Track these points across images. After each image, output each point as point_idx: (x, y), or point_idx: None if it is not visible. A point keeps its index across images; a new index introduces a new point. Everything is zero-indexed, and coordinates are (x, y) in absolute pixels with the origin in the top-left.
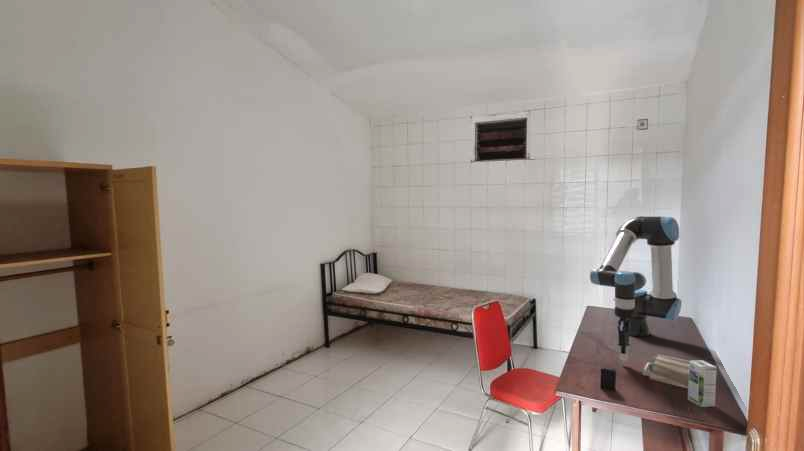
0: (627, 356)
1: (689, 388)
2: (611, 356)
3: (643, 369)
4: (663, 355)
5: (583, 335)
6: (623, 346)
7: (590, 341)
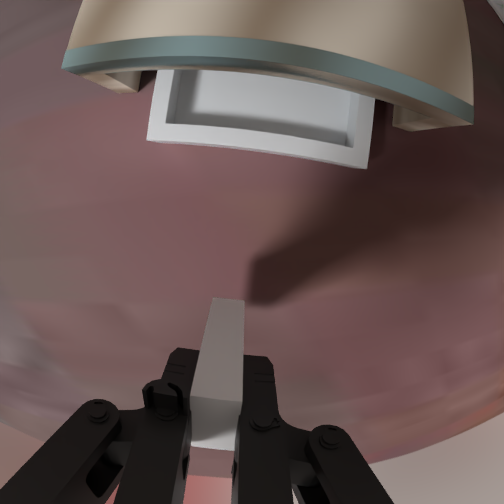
0: (213, 315)
1: None
2: (119, 365)
3: (351, 165)
4: (80, 11)
5: (4, 421)
6: (289, 435)
7: (27, 415)
